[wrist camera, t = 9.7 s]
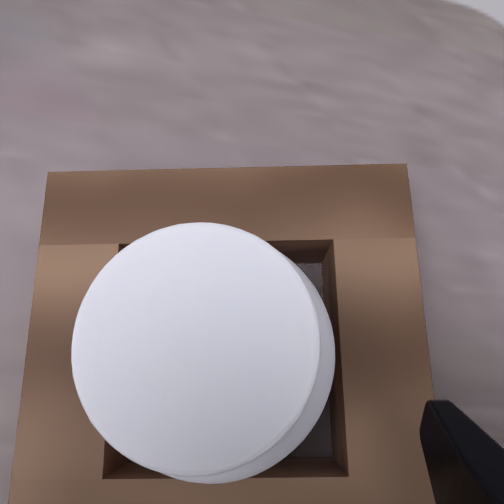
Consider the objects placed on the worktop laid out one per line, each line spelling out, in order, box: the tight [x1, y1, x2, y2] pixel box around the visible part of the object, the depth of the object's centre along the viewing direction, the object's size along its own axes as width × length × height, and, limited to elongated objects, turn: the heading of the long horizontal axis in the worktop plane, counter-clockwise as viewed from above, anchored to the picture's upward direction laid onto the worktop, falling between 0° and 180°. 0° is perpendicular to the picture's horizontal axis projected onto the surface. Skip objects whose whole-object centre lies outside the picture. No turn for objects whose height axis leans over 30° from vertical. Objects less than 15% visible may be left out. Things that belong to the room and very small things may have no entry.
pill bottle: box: [71, 222, 335, 484], centre depth 14 cm, size 6×6×11 cm
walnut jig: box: [8, 164, 436, 504], centre depth 17 cm, size 19×14×4 cm
